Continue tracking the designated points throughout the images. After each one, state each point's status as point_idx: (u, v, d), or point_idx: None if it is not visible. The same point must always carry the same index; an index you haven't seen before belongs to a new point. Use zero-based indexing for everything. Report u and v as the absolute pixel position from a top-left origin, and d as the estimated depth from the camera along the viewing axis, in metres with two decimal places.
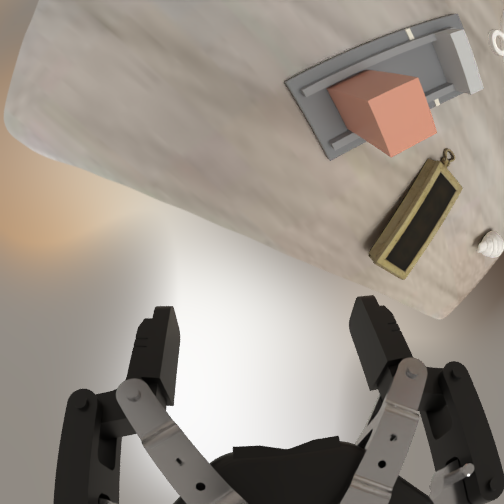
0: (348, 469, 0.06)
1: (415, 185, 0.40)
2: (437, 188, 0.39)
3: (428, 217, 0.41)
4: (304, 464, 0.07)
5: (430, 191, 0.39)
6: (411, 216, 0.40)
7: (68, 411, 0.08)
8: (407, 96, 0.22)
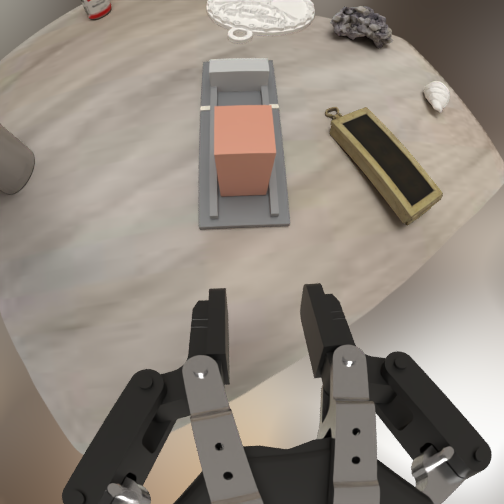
0: None
1: (350, 153, 0.42)
2: (357, 131, 0.41)
3: (384, 149, 0.40)
4: (304, 464, 0.07)
5: (358, 139, 0.40)
6: (376, 165, 0.39)
7: (128, 386, 0.09)
8: (226, 120, 0.29)
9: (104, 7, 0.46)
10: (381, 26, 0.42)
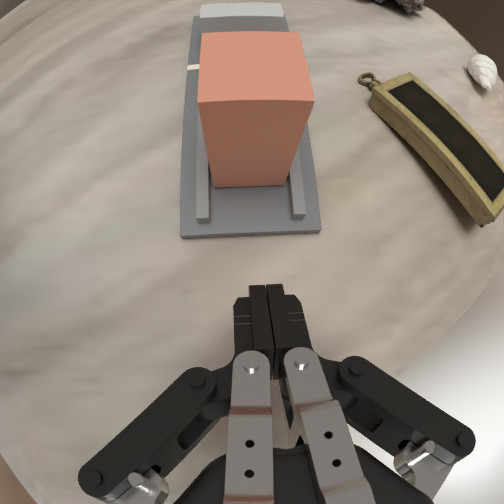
0: None
1: (401, 131, 0.28)
2: (408, 101, 0.26)
3: (445, 124, 0.25)
4: (304, 464, 0.07)
5: (412, 111, 0.26)
6: (442, 146, 0.24)
7: (178, 381, 0.09)
8: (222, 50, 0.15)
9: None
10: None
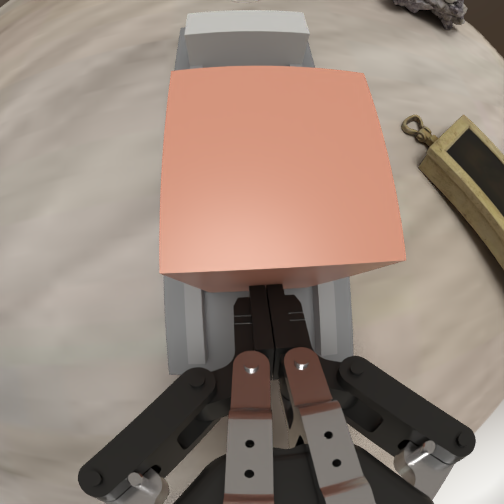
0: None
1: (461, 206, 0.20)
2: (471, 165, 0.19)
3: None
4: (304, 464, 0.07)
5: (476, 181, 0.19)
6: None
7: (178, 381, 0.09)
8: (212, 117, 0.07)
9: None
10: None
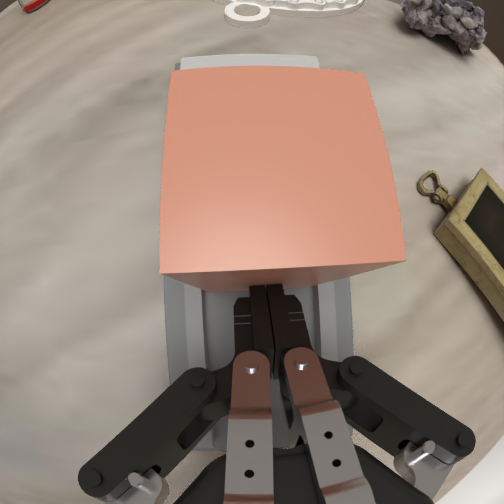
0: None
1: (474, 274, 0.19)
2: (488, 233, 0.18)
3: None
4: (304, 464, 0.07)
5: (492, 250, 0.18)
6: None
7: (178, 381, 0.09)
8: (213, 117, 0.07)
9: None
10: (478, 23, 0.19)
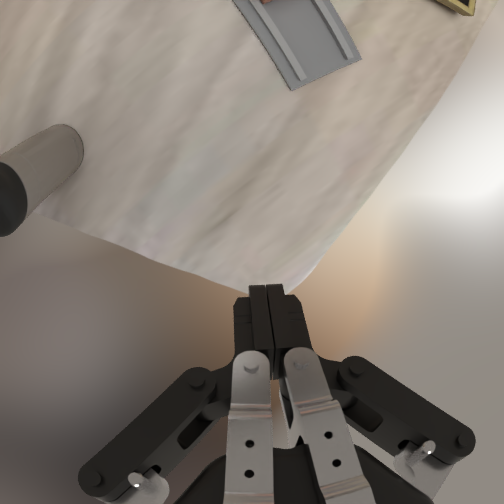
0: None
1: None
2: None
3: None
4: (304, 464, 0.07)
5: None
6: None
7: (178, 381, 0.09)
8: None
9: None
10: None
